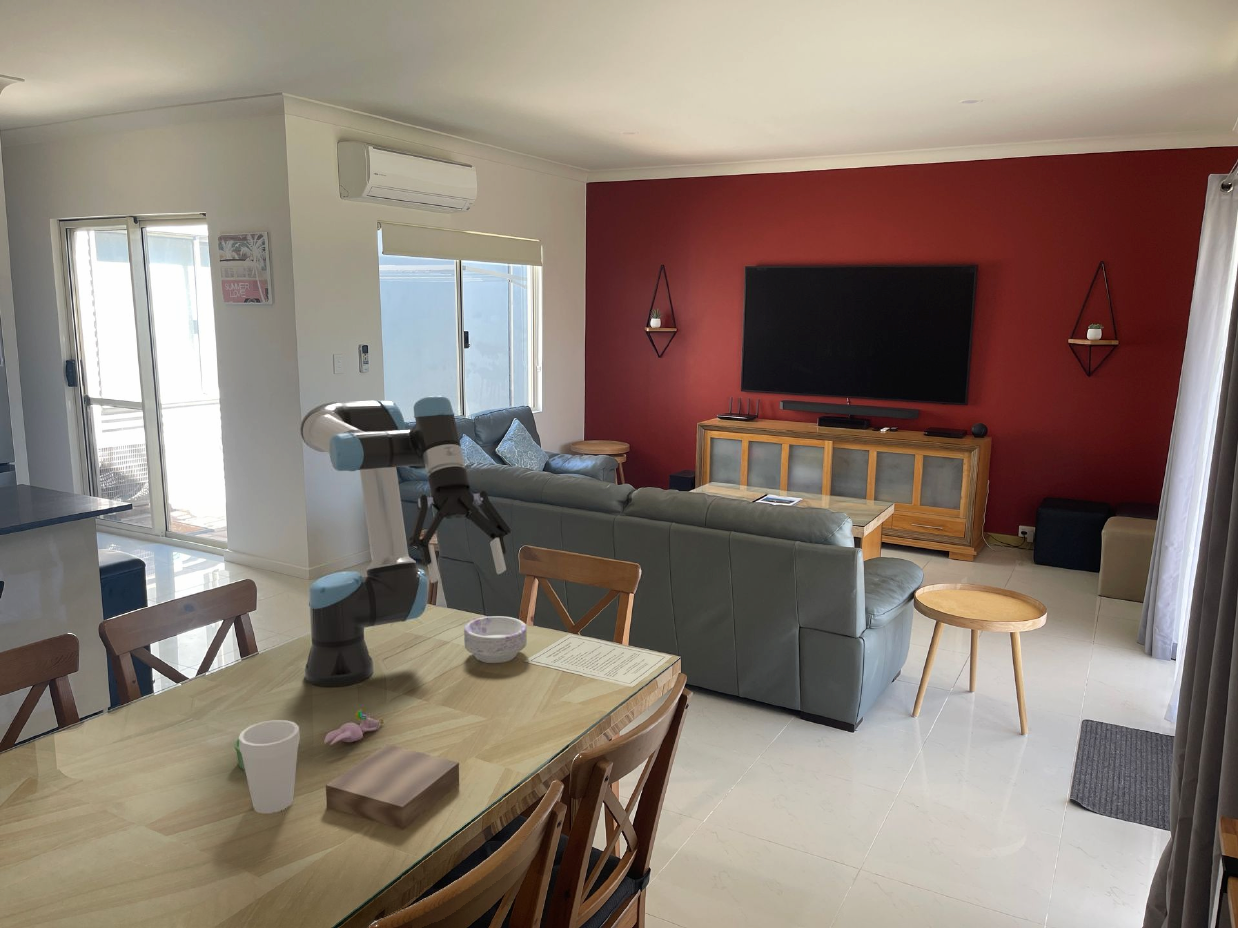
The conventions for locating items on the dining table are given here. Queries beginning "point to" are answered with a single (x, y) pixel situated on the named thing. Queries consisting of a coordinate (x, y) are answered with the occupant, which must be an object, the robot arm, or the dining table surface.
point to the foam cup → (270, 763)
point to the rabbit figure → (354, 729)
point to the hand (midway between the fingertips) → (469, 576)
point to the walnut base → (393, 785)
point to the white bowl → (495, 638)
